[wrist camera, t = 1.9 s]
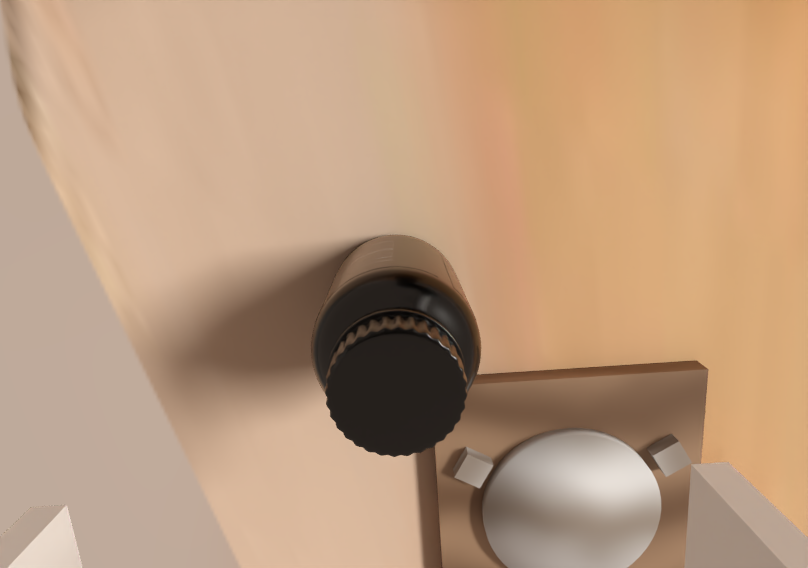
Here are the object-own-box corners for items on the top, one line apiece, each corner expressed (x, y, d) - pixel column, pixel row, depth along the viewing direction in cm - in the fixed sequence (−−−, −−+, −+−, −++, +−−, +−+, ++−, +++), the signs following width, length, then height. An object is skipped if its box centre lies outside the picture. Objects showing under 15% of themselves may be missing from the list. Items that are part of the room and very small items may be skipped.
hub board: (430, 378, 30) (432, 393, 29) (696, 360, 30) (716, 375, 28) (444, 608, 34) (447, 635, 33) (679, 594, 34) (696, 621, 32)
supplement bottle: (331, 348, 30) (285, 476, 18) (337, 227, 28) (291, 284, 17) (453, 358, 30) (484, 490, 19) (467, 238, 29) (510, 302, 17)
